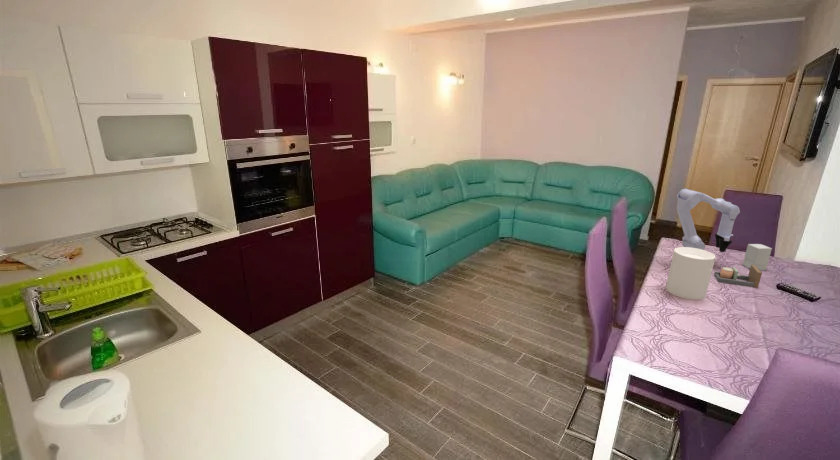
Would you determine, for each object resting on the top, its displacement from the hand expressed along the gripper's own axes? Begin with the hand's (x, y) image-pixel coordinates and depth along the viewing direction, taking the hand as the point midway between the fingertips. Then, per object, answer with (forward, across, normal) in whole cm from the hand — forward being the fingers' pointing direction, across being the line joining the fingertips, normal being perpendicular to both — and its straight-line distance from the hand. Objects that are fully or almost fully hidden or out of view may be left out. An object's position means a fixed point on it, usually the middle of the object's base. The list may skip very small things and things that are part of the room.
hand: (720, 249), depth 210 cm
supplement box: (+10, +5, -18) cm, 21 cm away
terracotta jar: (+9, -20, 0) cm, 23 cm away
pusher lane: (+9, -20, -3) cm, 23 cm away
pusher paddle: (+9, -20, -4) cm, 23 cm away
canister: (+10, -45, +21) cm, 50 cm away
